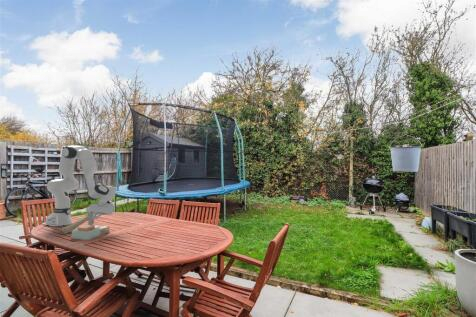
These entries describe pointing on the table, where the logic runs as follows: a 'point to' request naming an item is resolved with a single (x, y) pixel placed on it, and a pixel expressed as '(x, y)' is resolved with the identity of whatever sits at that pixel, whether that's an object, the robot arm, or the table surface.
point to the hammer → (79, 223)
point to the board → (102, 229)
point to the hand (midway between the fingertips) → (95, 218)
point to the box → (85, 234)
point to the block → (86, 228)
